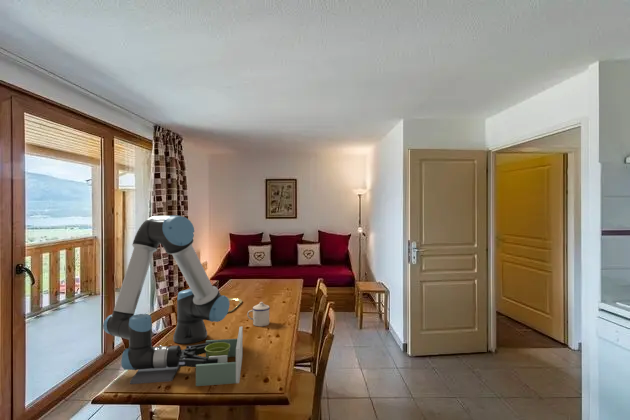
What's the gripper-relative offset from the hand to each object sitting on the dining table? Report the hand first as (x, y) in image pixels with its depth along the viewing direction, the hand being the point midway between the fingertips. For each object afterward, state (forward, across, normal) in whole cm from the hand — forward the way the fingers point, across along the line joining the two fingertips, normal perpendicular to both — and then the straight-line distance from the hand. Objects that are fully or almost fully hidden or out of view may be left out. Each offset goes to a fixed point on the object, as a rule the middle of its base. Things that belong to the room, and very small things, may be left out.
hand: (228, 352), depth 135 cm
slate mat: (-26, 0, +6) cm, 27 cm away
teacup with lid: (+11, +52, +6) cm, 54 cm away
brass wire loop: (-11, +90, +7) cm, 91 cm away
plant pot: (-4, 0, +6) cm, 7 cm away
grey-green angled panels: (-3, 0, +6) cm, 7 cm away
